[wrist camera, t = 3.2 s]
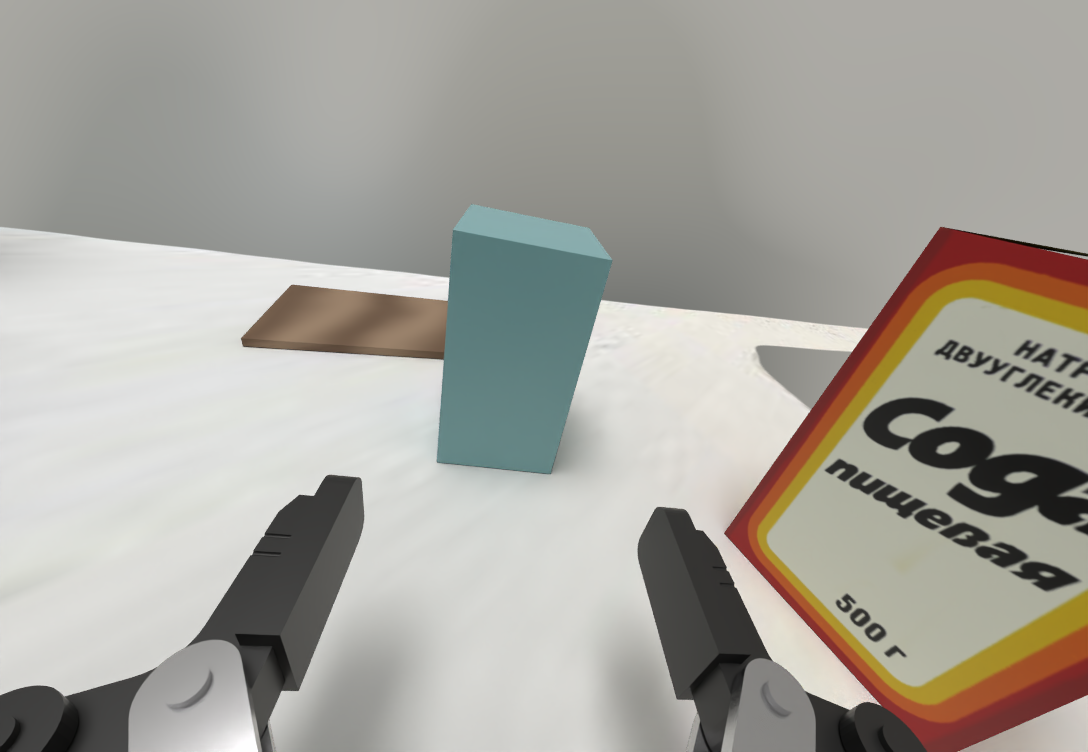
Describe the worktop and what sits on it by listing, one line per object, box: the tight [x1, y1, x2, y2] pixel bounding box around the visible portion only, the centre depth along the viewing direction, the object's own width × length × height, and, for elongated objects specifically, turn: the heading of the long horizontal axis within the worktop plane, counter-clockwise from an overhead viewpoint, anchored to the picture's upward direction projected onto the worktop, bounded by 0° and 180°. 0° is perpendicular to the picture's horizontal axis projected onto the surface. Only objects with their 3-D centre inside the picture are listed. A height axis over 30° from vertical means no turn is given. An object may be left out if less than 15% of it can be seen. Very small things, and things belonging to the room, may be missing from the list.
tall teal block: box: [437, 204, 612, 474], centre depth 20 cm, size 6×6×12 cm
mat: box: [241, 285, 448, 359], centre depth 31 cm, size 14×10×1 cm
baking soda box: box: [724, 227, 1088, 752], centre depth 14 cm, size 10×6×16 cm
